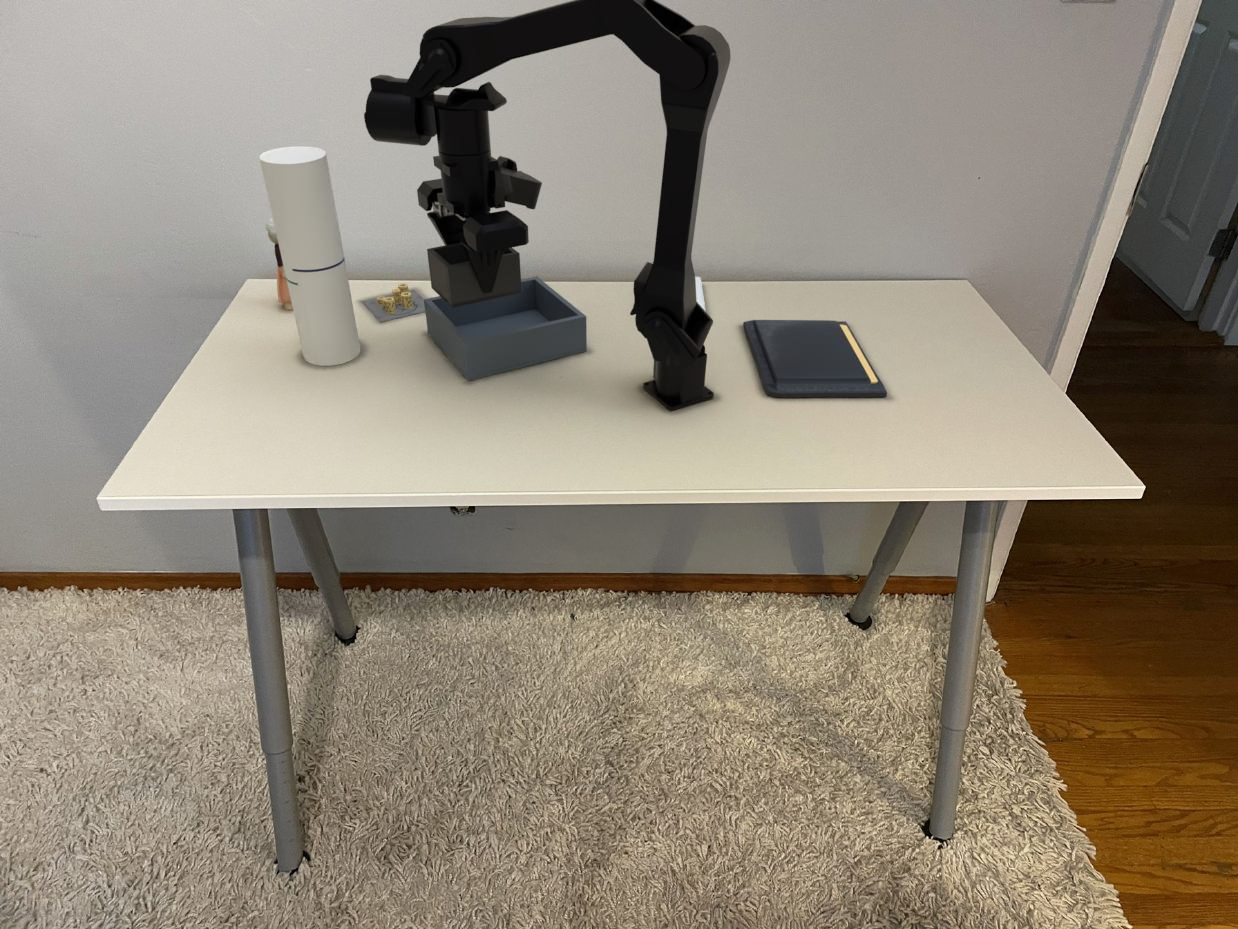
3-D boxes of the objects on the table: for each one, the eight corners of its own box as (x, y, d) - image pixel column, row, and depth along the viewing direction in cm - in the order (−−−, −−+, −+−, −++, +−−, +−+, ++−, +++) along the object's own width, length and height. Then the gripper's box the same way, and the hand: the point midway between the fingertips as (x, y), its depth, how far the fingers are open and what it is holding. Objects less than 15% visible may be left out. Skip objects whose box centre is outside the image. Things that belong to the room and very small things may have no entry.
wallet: (743, 312, 117) (852, 313, 117) (742, 324, 118) (849, 326, 118) (764, 384, 101) (890, 386, 101) (762, 397, 102) (887, 399, 102)
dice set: (407, 294, 124) (405, 282, 123) (420, 307, 121) (418, 294, 120) (374, 301, 122) (372, 289, 121) (386, 315, 118) (384, 302, 117)
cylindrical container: (345, 368, 106) (306, 166, 91) (292, 362, 107) (246, 161, 92) (370, 343, 111) (337, 148, 97) (320, 337, 113) (280, 144, 98)
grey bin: (586, 351, 111) (586, 316, 108) (468, 381, 104) (464, 344, 101) (538, 309, 121) (537, 275, 118) (427, 334, 114) (423, 299, 111)
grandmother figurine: (276, 296, 123) (256, 210, 115) (304, 292, 124) (286, 207, 117) (283, 318, 117) (263, 229, 110) (312, 313, 118) (293, 225, 111)
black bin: (521, 292, 102) (519, 253, 99) (452, 308, 98) (447, 267, 95) (499, 274, 106) (496, 235, 103) (431, 288, 102) (426, 248, 100)
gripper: (569, 160, 90) (571, 296, 99) (496, 122, 102) (504, 245, 111) (472, 175, 85) (484, 317, 94) (408, 133, 98) (424, 261, 107)
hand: (476, 282), depth 102 cm, fingers closed on black bin, 6 cm apart
